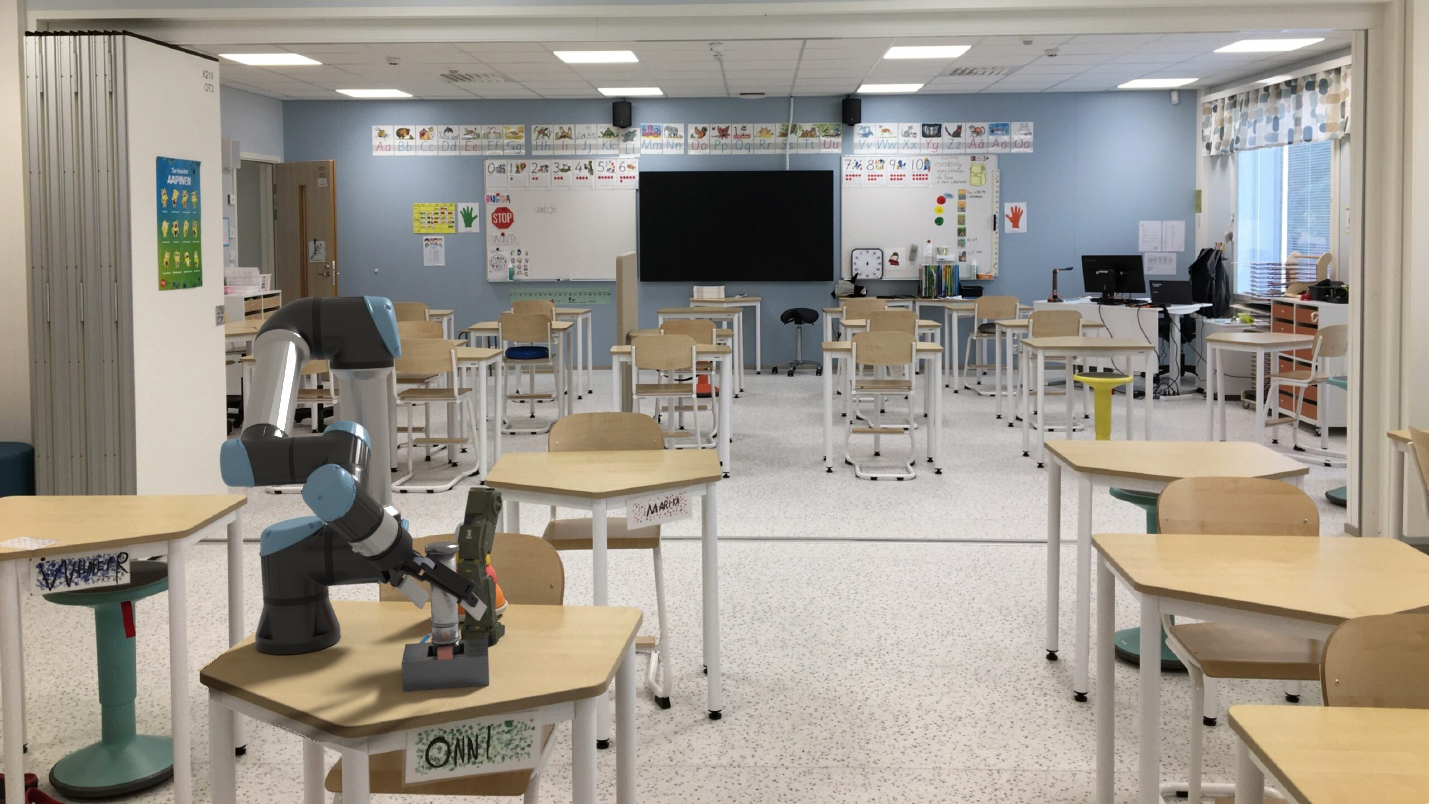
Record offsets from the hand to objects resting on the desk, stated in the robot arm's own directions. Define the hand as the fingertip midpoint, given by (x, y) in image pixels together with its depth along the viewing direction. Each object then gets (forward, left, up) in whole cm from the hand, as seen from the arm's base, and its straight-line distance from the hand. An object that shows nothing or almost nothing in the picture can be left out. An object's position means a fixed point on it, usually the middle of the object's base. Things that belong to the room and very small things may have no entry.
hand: (452, 607), depth 197 cm
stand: (+1, -1, -12) cm, 12 cm away
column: (+1, -1, -12) cm, 12 cm away
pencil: (-17, -7, -12) cm, 22 cm away
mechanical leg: (-19, +5, -12) cm, 23 cm away
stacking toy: (-36, +3, -12) cm, 38 cm away
